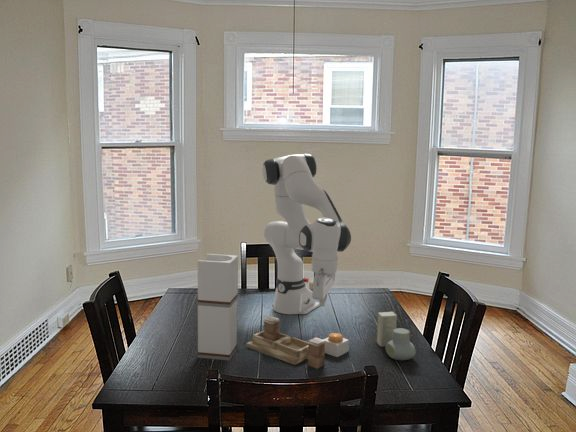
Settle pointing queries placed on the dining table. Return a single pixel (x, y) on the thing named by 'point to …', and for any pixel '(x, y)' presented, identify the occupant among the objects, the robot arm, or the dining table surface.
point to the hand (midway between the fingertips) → (322, 305)
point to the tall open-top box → (217, 306)
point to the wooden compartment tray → (279, 343)
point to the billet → (316, 352)
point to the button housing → (336, 347)
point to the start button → (335, 337)
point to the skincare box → (385, 327)
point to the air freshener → (400, 345)
